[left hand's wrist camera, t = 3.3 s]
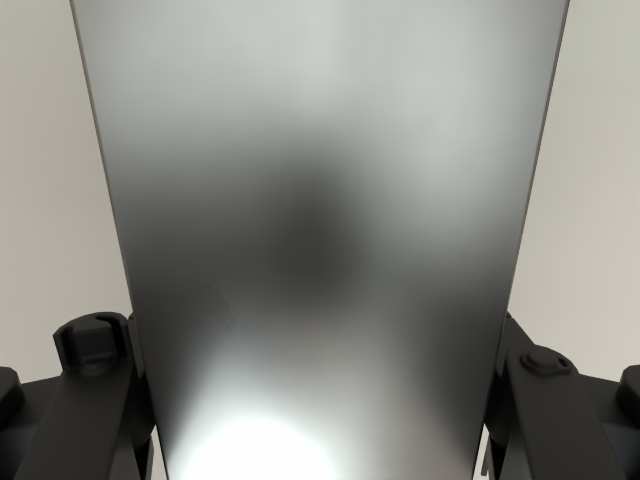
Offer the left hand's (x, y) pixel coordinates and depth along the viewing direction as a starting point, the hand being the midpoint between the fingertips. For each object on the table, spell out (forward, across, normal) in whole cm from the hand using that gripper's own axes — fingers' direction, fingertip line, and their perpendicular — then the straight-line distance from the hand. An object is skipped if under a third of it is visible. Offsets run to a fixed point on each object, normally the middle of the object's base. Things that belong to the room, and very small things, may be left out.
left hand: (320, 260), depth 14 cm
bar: (+1, 0, -8) cm, 8 cm away
